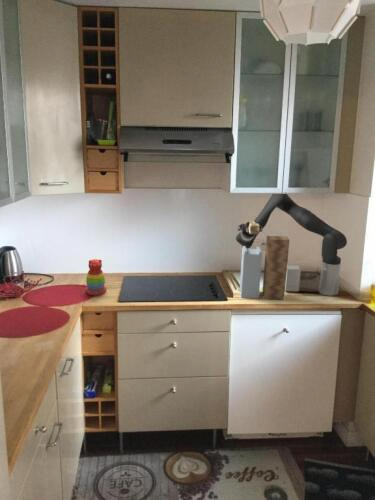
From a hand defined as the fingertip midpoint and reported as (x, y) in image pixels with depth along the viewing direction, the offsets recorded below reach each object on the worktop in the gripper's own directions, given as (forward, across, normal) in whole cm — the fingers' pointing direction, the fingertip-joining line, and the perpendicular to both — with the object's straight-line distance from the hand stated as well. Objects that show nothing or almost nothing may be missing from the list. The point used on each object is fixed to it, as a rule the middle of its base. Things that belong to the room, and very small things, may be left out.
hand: (252, 223), depth 223 cm
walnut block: (-10, +12, +36) cm, 40 cm away
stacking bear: (-10, -80, +37) cm, 89 cm away
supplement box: (-22, +24, +30) cm, 44 cm away
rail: (+1, 0, +4) cm, 4 cm away
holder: (-13, 0, +35) cm, 37 cm away
